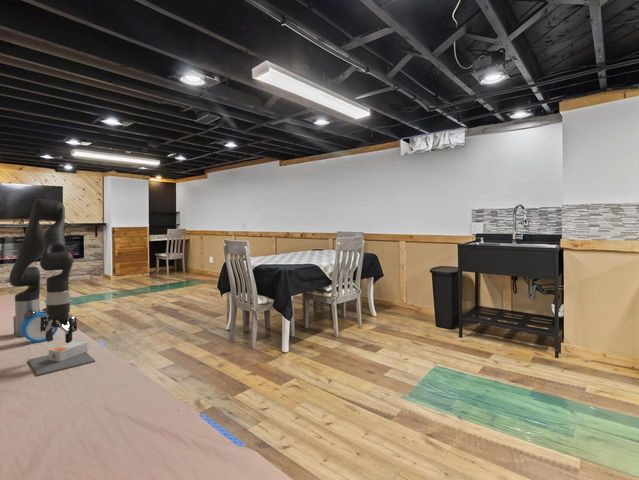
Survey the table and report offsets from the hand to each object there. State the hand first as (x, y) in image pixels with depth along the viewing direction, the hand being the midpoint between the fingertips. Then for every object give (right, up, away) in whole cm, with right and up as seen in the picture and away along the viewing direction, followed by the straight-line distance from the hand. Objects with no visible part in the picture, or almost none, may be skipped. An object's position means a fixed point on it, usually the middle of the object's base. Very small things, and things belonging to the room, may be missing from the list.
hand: (59, 341), depth 140 cm
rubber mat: (+2, -7, -2) cm, 8 cm away
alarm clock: (-26, -6, +22) cm, 35 cm away
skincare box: (0, -5, -3) cm, 6 cm away
